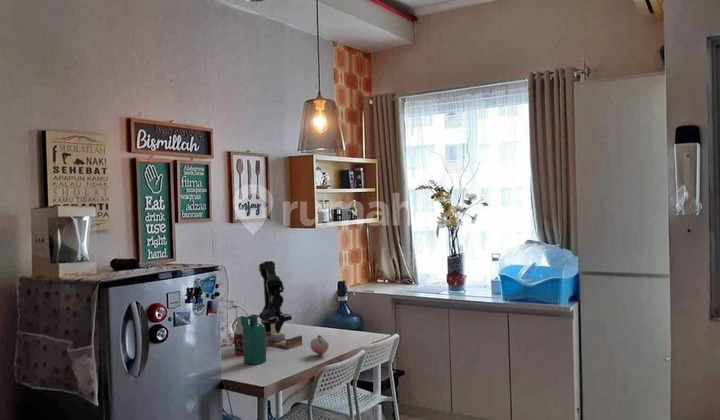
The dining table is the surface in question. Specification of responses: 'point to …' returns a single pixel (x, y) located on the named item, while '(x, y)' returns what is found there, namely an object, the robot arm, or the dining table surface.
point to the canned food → (238, 342)
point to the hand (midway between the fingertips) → (275, 332)
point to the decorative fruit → (319, 345)
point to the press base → (285, 342)
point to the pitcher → (253, 340)
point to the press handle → (275, 334)
